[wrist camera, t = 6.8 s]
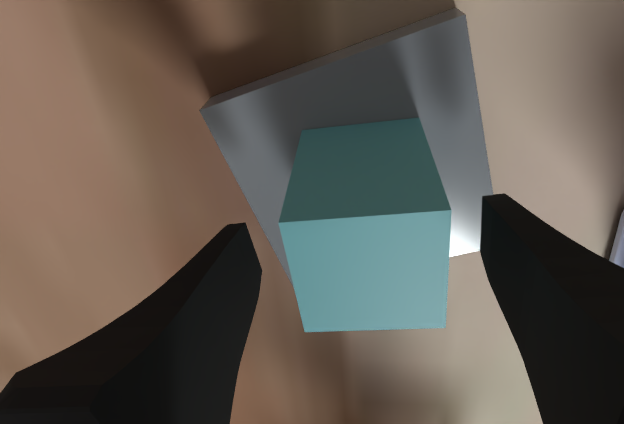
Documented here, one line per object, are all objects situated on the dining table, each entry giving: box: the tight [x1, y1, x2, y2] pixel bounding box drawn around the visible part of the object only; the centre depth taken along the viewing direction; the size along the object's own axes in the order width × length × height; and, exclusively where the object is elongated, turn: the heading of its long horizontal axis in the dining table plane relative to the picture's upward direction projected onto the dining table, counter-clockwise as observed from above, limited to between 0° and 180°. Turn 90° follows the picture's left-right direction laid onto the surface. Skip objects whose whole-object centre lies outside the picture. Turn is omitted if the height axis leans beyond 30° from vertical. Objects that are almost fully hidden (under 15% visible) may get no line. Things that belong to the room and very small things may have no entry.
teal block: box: [278, 118, 452, 332], centre depth 13 cm, size 4×4×6 cm
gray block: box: [199, 8, 493, 287], centre depth 16 cm, size 9×9×2 cm
